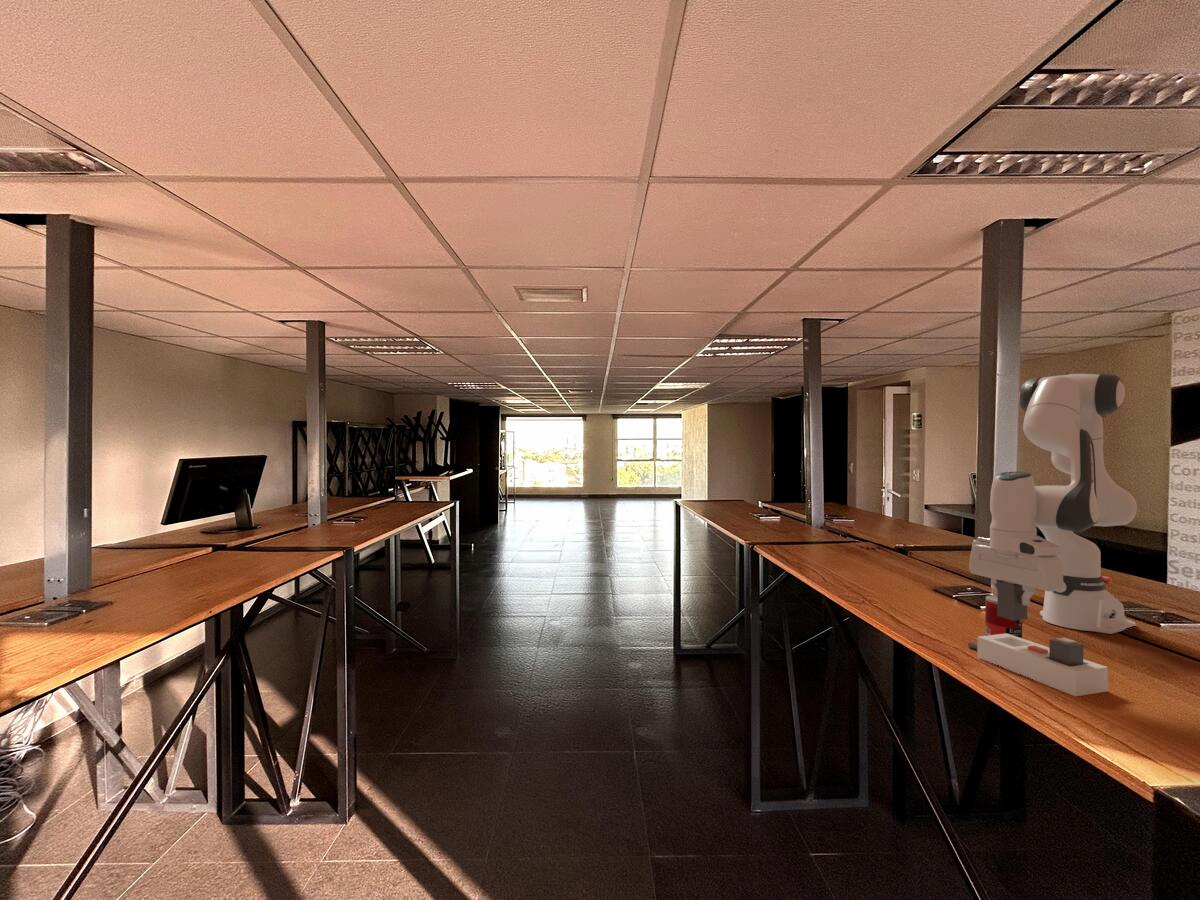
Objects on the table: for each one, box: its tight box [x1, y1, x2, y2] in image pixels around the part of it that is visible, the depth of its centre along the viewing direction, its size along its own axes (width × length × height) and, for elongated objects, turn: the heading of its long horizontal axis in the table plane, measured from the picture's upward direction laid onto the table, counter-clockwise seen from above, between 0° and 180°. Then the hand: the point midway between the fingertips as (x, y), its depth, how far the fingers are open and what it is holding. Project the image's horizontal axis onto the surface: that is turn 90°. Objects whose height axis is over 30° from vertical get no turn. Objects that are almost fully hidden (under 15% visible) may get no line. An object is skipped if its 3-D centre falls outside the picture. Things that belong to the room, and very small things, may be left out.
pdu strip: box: [967, 633, 1109, 697], centre depth 131 cm, size 9×28×9 cm, turn 15°
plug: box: [997, 581, 1028, 621], centre depth 133 cm, size 4×4×8 cm
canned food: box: [984, 594, 1024, 639], centre depth 148 cm, size 8×8×11 cm
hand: (1012, 601), depth 133 cm, fingers closed on plug, 4 cm apart
